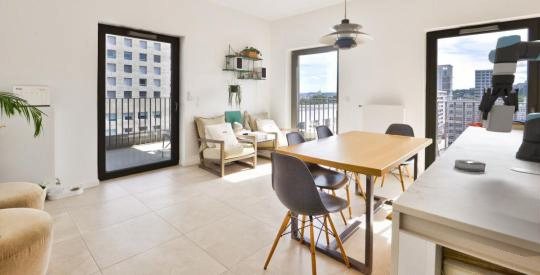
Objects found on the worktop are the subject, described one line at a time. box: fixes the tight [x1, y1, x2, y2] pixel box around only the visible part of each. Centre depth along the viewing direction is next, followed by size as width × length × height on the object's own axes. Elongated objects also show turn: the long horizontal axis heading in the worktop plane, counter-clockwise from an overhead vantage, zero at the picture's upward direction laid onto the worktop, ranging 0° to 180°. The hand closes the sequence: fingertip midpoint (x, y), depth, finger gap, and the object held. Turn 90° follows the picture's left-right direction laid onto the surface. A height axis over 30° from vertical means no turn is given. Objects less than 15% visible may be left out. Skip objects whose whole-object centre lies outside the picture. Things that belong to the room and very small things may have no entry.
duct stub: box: [454, 158, 487, 173], centre depth 125 cm, size 11×11×3 cm
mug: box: [478, 104, 515, 134], centre depth 122 cm, size 12×8×11 cm
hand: (495, 127), depth 122 cm, fingers closed on mug, 9 cm apart
